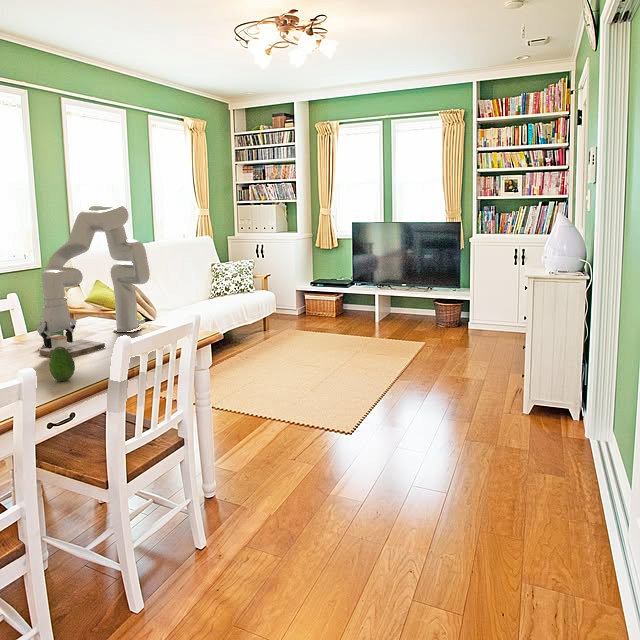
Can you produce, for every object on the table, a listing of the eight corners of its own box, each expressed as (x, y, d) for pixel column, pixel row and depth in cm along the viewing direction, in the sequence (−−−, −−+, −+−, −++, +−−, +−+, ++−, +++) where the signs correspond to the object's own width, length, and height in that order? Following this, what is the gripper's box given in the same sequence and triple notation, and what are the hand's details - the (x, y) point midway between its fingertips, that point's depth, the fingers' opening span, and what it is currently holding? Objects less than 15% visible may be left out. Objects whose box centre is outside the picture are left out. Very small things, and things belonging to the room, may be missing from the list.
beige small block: (58, 347, 232) (57, 334, 231) (67, 349, 229) (66, 336, 228) (49, 349, 228) (48, 336, 227) (59, 351, 226) (58, 338, 225)
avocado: (45, 383, 194) (42, 348, 192) (59, 376, 202) (56, 343, 199) (67, 385, 193) (64, 350, 190) (81, 378, 201) (78, 344, 198)
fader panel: (81, 343, 247) (81, 339, 246) (105, 347, 240) (104, 342, 240) (39, 354, 229) (39, 349, 229) (64, 359, 223) (63, 354, 223)
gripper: (67, 297, 234) (70, 339, 238) (28, 305, 219) (33, 349, 223) (80, 299, 231) (83, 341, 234) (41, 307, 216) (46, 351, 220)
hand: (59, 345), depth 229 cm, fingers open, 9 cm apart
